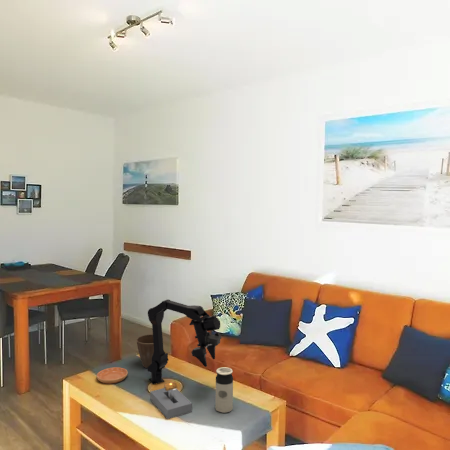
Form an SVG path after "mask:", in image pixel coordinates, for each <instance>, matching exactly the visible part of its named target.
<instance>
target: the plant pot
mask: <svg viewBox="0 0 450 450" xmlns="http://www.w3.org/2000/svg"><path fill="white" fill-rule="evenodd" d="M136 347H137V350H138V355H139V358H140V361H141V365H142V367H143V368H144V367H145V369H147V367H148V366H149V365H150V364H151V362H152V356H153V353H154V344H153V334H144V335H141V336H138V337H137V338H136Z"/></svg>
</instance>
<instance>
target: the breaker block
mask: <svg viewBox="0 0 450 450" xmlns="http://www.w3.org/2000/svg"><path fill="white" fill-rule="evenodd" d="M149 396H150V401H151V402H152V404H154V406H155V407H156V408H157V409H158V410H159V411H160V412H161V414H162V415H163V416H164V417H165V419H166V420H169V419H173V418H176V417H179V416H182V415H186V414H189V413H193V403H192V402H191V401H190V400H189V399H188V398H187V397H186V396H185V395H184V394H183V393H182V392H181V391H180V390H179V389H178V388H176V389H173V402H172V401H171V400H170V399H169V390H168V391H166V390H165V387H163V388H159V389H155V390H151V391H150V395H149Z"/></svg>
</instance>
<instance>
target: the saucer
mask: <svg viewBox="0 0 450 450" xmlns="http://www.w3.org/2000/svg"><path fill="white" fill-rule="evenodd" d="M128 372H129V371H128V370H127V369H126V368H123V367H114V366H113V367H108V368H104V369H102V370H100V371H98V372H97V373H96V379H97V380H98V381H99V382H101V383H103V384H107V385H108V384H110V385H111V384H117V383H120V382H122V381H124V379H126V377H127V376H128Z"/></svg>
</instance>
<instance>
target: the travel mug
mask: <svg viewBox="0 0 450 450" xmlns="http://www.w3.org/2000/svg"><path fill="white" fill-rule="evenodd" d="M215 372H216V376H215V397H214V398H215V405H214V406H215V410H216V412H219V413H221V414H222V413H223V414H224V413H229V412H231V411H232V410H233V408H234V376H233V372H234V371H233V369H232V368H231V367H225V366H224V367H218V368H217V369H216V371H215Z"/></svg>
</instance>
